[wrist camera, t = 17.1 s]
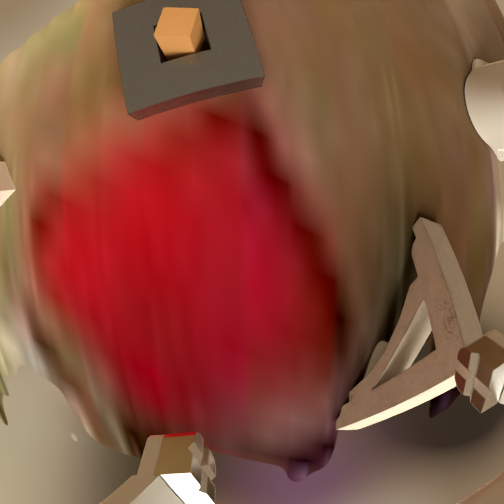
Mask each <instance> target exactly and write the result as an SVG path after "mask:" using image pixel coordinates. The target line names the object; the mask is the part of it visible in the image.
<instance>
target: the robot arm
mask: <svg viewBox="0 0 504 504" xmlns="http://www.w3.org/2000/svg"><path fill="white" fill-rule="evenodd" d="M465 100H466V105H467V109H468V113H469V116H470V118H471V121H472V123H473V125H474V127H475V129H476V131H477V132H478V134H479V135H480V137H481V138H482V139H483V140H484V141H485V142H486V143H487V144H488V145H489V146H490V147H491V148H492V149H493V151H494V153H495V155H496V156H497V158H498V159H499V160H500V161H504V60H501V61H497V62H493V63H487V62H485V61H483V60H481V59H474V60H473V63H472V71H471V73H470V74H469V75H468V77H467V79H466V83H465ZM457 360H458V361H459V362H460V363H459V365H458V367H457V368H456V370H455V382H456V386H457V388H458V389H459V391H460V392H461V393H462V394H463V395H466V396H470V402H471V404H472V405H473V406H474V407H475V408H476V409H477V410H478V411H479V412H480V413H482V412H484V411H486V410H487V409H488V408H490V407H492V406H493V405H495V404H496V403H498V402H499V401H500V403H502V404H504V335H503V334H501V333H500V332H498V331H496V330H491V331H490V332H488V333H486V334H485V335H483V336H482V337H480V338H478V339H476V340H475V341H473V342H471V343H469V344H468V345H466V346H464V347H462V348H460V350H459V352H458V356H457ZM215 476H216V467H215V461H214V458H213V455H212V453H211V451H210V449H209V448H207V447H205V446H204V439H203V437H202V435H201V434H200V432H191V433H179V434H166V435H151V436H150V437H149V438H148V439H147V442H146V445H145V449H144V452H143V456H142V459H141V464H140V467H139V471H138V474H137V475H133V476H132V477H130V478H129V479H128V480H127V481H126V482H125V483H124V484H123V485H121V486H120V487H119V488H118V489H117V490H115V491H114V492H113V493H112V494H111V495H110V496H108V497H107V498H106V499H105V500H103V501H102V502H101V503H100V504H215V486H214V485H213V483H212V482H211V481H212V479H213V478H214V477H215ZM456 504H504V471H503V472H502V473H501V474H499V475H498V476H497V477H495V478H494V479H492V480H491V481H490V482H488V483H487V484H485V485H484V486H483V487H481V488H480V489H478V490H477V491H475V492H474V493H472V494H471V495H469V496H468V497H466V498H464V499H463V500H461V501H460V502H458V503H456Z"/></svg>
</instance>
